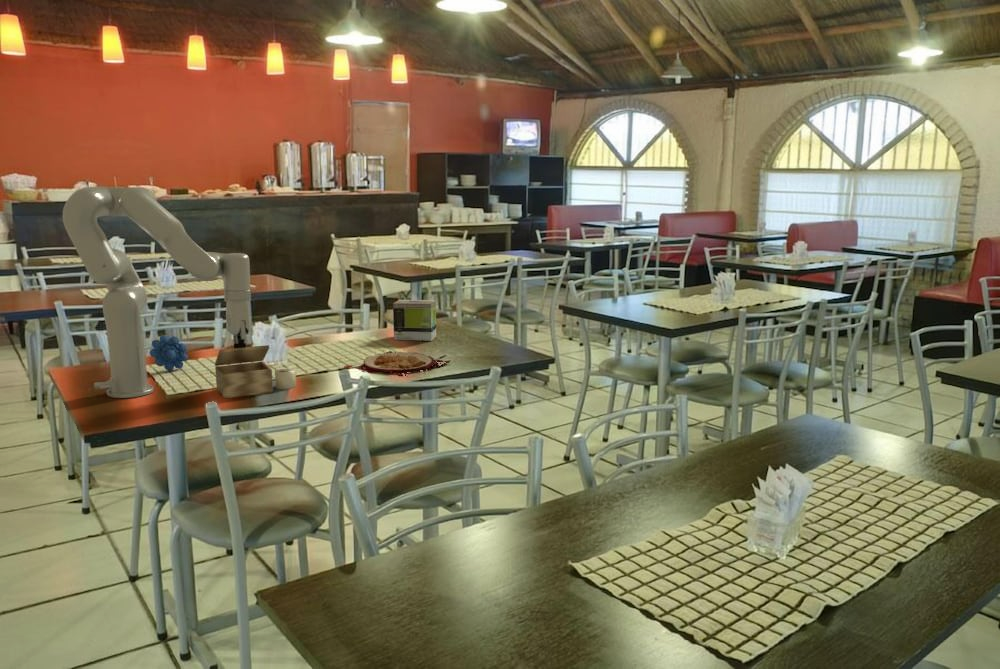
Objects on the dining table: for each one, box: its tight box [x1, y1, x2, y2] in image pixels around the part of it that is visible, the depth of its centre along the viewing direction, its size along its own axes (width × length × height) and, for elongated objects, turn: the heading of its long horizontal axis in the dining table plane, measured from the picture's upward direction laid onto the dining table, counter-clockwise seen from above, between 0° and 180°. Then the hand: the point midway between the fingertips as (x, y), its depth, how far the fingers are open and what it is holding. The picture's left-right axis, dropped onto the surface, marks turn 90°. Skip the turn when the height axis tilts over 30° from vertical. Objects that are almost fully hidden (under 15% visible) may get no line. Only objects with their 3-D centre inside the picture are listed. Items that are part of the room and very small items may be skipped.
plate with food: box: [343, 350, 451, 376], centre depth 274 cm, size 25×26×4 cm
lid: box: [214, 344, 270, 367], centre depth 242 cm, size 14×11×1 cm
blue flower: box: [149, 334, 189, 372], centre depth 264 cm, size 12×7×12 cm, turn 123°
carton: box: [214, 361, 274, 399], centre depth 242 cm, size 14×11×7 cm
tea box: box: [392, 299, 437, 342], centre depth 317 cm, size 15×10×15 cm
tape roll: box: [274, 367, 297, 390], centre depth 247 cm, size 6×6×5 cm
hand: (240, 356), depth 244 cm, fingers closed
